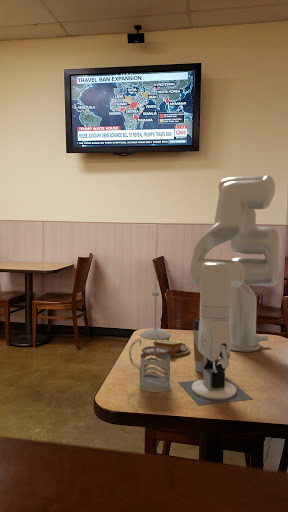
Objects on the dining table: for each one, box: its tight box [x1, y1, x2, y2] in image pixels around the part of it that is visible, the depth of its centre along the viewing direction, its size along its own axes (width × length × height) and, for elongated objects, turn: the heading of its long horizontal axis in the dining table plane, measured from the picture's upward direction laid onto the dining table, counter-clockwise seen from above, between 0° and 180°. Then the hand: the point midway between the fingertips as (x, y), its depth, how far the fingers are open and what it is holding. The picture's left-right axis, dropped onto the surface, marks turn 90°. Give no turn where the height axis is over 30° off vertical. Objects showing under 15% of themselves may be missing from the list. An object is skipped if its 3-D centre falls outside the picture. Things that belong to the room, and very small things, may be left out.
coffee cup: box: [192, 317, 220, 374], centre depth 110 cm, size 8×8×15 cm
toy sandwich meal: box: [152, 338, 191, 358], centre depth 130 cm, size 12×14×5 cm
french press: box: [128, 290, 173, 393], centre depth 99 cm, size 10×12×25 cm
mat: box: [178, 377, 254, 406], centre depth 96 cm, size 14×14×1 cm
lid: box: [192, 369, 236, 400], centre depth 96 cm, size 11×11×5 cm
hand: (213, 383), depth 96 cm, fingers closed on lid, 4 cm apart
